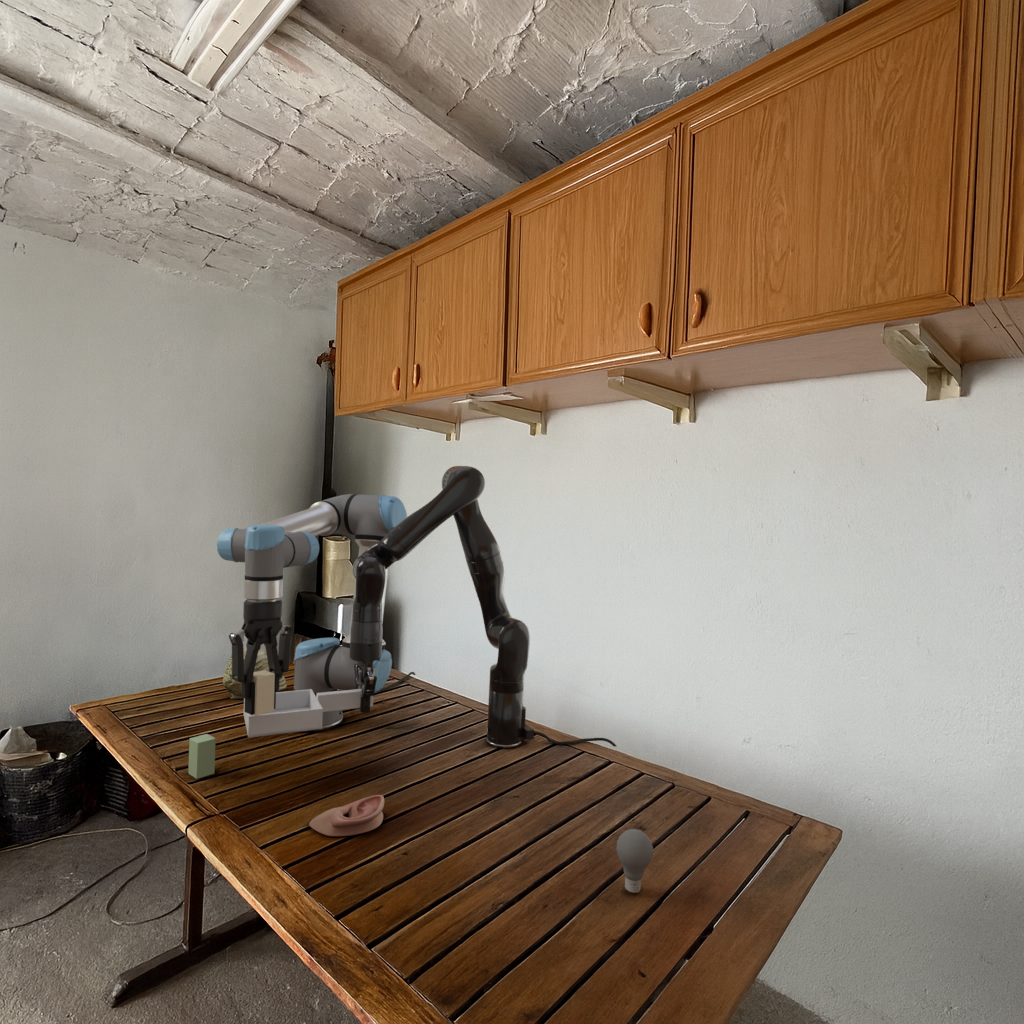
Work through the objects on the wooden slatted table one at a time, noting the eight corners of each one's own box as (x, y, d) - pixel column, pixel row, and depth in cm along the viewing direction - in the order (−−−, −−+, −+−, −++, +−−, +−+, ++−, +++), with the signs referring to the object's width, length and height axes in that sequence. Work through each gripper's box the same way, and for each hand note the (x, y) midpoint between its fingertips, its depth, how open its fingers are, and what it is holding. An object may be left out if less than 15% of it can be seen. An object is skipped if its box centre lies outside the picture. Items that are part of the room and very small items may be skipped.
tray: (248, 737, 134) (248, 711, 134) (243, 714, 147) (244, 691, 147) (379, 721, 146) (380, 698, 146) (364, 701, 160) (365, 680, 160)
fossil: (218, 695, 195) (220, 647, 195) (278, 685, 208) (279, 640, 207) (228, 703, 189) (230, 653, 188) (289, 692, 201) (290, 645, 201)
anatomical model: (301, 810, 119) (330, 784, 130) (300, 831, 119) (330, 803, 131) (367, 821, 117) (391, 793, 128) (366, 842, 117) (390, 813, 128)
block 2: (263, 706, 136) (264, 669, 135) (273, 711, 133) (274, 673, 133) (245, 711, 132) (246, 673, 132) (256, 716, 130) (257, 677, 130)
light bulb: (610, 879, 108) (613, 822, 108) (644, 879, 109) (647, 822, 109) (619, 902, 102) (622, 840, 102) (655, 901, 103) (658, 840, 103)
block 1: (206, 768, 145) (207, 733, 145) (214, 773, 142) (215, 738, 142) (188, 773, 142) (189, 738, 142) (196, 779, 139) (197, 743, 139)
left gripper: (289, 592, 141) (286, 696, 142) (214, 601, 128) (211, 715, 128) (309, 597, 136) (306, 704, 137) (232, 606, 123) (229, 725, 124)
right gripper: (344, 633, 156) (342, 703, 157) (357, 646, 144) (354, 721, 144) (374, 631, 160) (372, 700, 160) (389, 643, 147) (386, 717, 148)
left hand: (260, 709), depth 133 cm, fingers closed on block 2, 4 cm apart
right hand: (363, 710), depth 152 cm, fingers closed on tray
